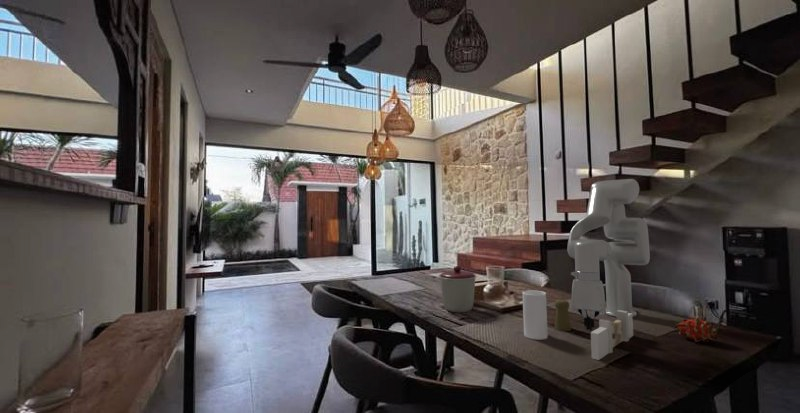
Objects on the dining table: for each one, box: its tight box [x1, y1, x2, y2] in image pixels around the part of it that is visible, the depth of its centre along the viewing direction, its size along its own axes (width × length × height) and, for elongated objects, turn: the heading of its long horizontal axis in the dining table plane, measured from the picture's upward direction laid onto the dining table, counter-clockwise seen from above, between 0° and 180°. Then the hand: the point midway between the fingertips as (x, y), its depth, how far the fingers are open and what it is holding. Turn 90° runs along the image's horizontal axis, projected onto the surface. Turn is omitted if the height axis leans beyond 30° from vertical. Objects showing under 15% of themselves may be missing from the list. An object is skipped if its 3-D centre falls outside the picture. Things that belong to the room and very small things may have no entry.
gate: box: [612, 319, 624, 348], centre depth 116 cm, size 12×2×7 cm, turn 129°
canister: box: [438, 265, 478, 313], centre depth 165 cm, size 18×18×21 cm
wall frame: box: [590, 310, 634, 361], centre depth 116 cm, size 31×3×10 cm, turn 129°
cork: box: [554, 299, 572, 332], centre depth 135 cm, size 6×6×11 cm
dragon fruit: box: [673, 316, 720, 343], centre depth 119 cm, size 8×8×12 cm
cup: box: [522, 289, 549, 341], centre depth 128 cm, size 8×8×16 cm
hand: (589, 328), depth 120 cm, fingers closed
